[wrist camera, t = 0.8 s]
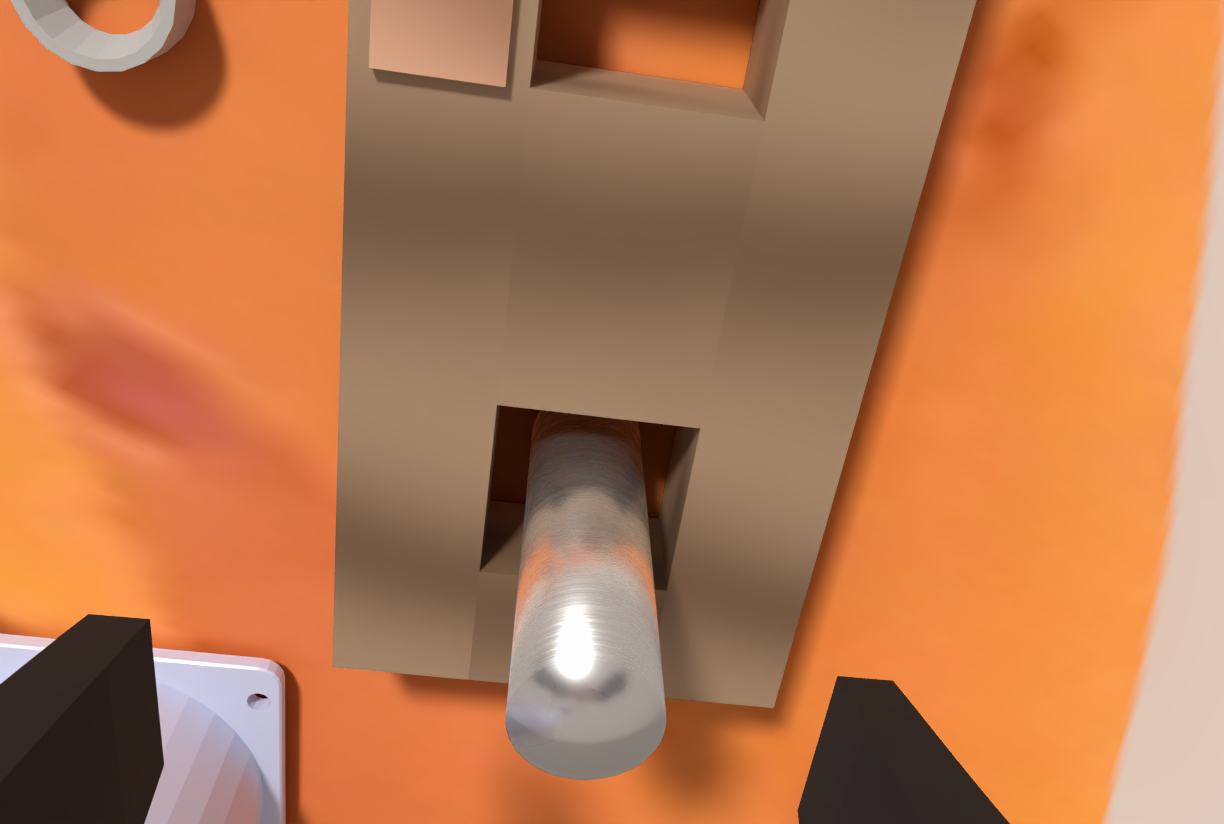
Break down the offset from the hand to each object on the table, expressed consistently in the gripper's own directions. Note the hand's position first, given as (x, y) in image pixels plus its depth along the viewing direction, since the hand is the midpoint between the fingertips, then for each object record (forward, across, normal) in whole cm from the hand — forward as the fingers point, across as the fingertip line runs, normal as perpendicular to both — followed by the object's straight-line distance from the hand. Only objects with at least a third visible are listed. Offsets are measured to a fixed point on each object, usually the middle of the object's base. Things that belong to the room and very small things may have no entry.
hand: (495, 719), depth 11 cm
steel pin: (+10, -1, +2) cm, 11 cm away
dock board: (+10, -1, -2) cm, 11 cm away
